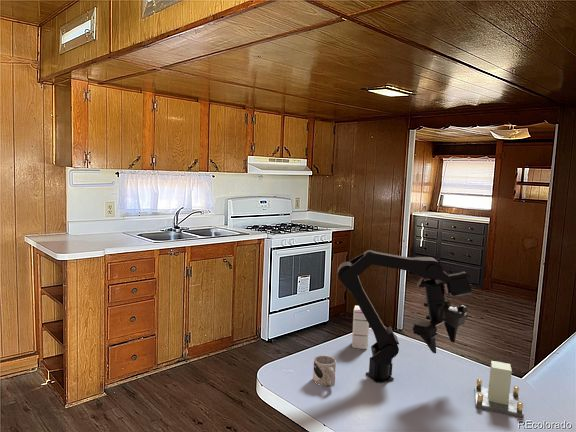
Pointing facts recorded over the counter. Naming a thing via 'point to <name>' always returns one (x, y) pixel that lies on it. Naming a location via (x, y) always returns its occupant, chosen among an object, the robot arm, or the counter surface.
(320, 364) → the mug
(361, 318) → the syrup box
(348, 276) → the robot arm
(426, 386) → the counter surface
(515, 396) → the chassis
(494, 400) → the sage block
